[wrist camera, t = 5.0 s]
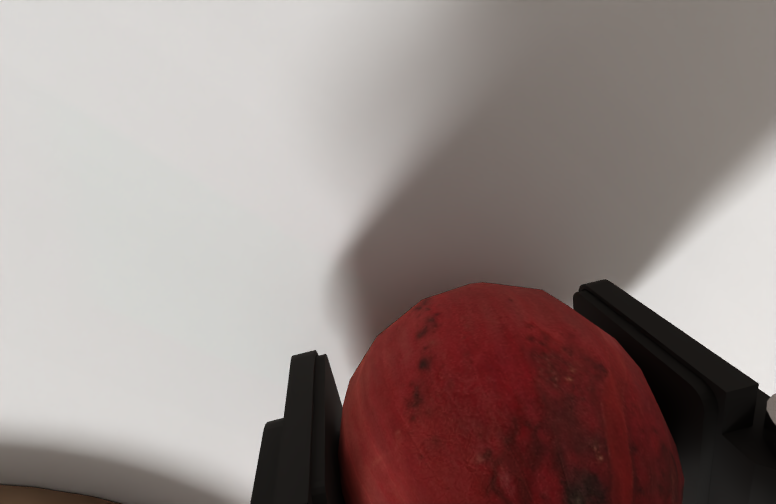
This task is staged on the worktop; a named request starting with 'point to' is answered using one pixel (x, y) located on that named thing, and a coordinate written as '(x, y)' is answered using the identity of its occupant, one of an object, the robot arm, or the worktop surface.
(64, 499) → the carrier plate
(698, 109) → the worktop surface
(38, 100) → the worktop surface
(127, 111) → the worktop surface
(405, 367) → the red rounded piece
